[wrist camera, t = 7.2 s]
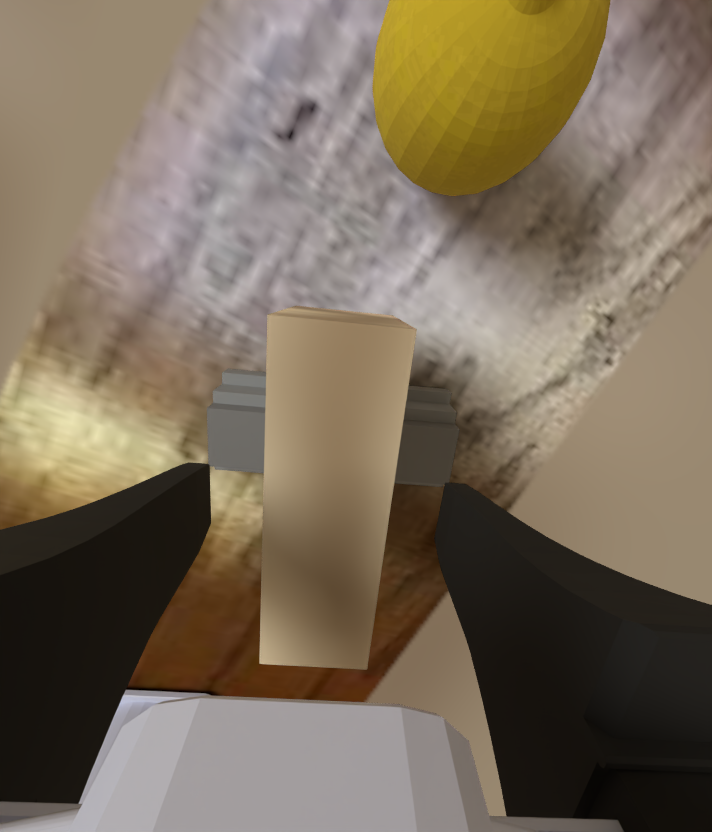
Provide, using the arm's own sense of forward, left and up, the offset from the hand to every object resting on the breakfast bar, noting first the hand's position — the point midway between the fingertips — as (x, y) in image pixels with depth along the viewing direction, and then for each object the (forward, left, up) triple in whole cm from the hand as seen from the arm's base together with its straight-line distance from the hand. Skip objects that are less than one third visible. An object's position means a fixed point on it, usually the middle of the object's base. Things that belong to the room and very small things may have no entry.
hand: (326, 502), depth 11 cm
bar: (0, 0, -4) cm, 4 cm away
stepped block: (0, 0, -7) cm, 7 cm away
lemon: (+3, +12, -7) cm, 14 cm away
